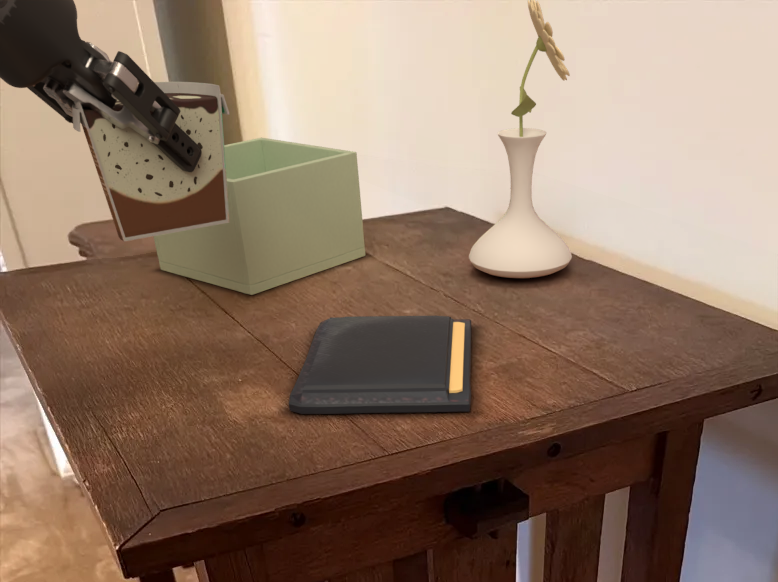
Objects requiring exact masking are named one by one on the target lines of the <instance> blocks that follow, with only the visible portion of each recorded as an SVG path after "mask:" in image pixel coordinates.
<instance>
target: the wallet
mask: <svg viewBox="0 0 778 582" xmlns="http://www.w3.org/2000/svg"><path fill="white" fill-rule="evenodd" d="M471 358H472V319H470V318H469V319H468V318H465V319H461V318H460V319H455V318H452V316H449V315H370V316H369V315H367V316H366V315H365V316H364V315H363V316H359V315H356V316H355V315H354V316H341V317H340V316H339V317H337V316H336V317H329V318H327V319H325V320H322V321H321V322H319V324H318V326H317V328H316V331H315V332H314V335H313V338H312V341H311V343H310V346H309V349H308V352H307V355H306V358H305V360H304V363H303V365H302V367H301V370H300V372H299V374H298V377H297V379H296V381H295V383H294V386H293V388H292V390H291V392H290V394H289V398H288V408H289V411H290V412H294V413H296V414H301V415H353V414H354V415H355V414H356V415H357V414H358V415H359V414H416V413H417V414H422V413H423V414H425V413H427V414H428V413H431V414H432V413H469V412H471V406H472V387H471V375H472V372H471V370H472V369H471V368H472V366H471V365H472V359H471Z"/></svg>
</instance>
